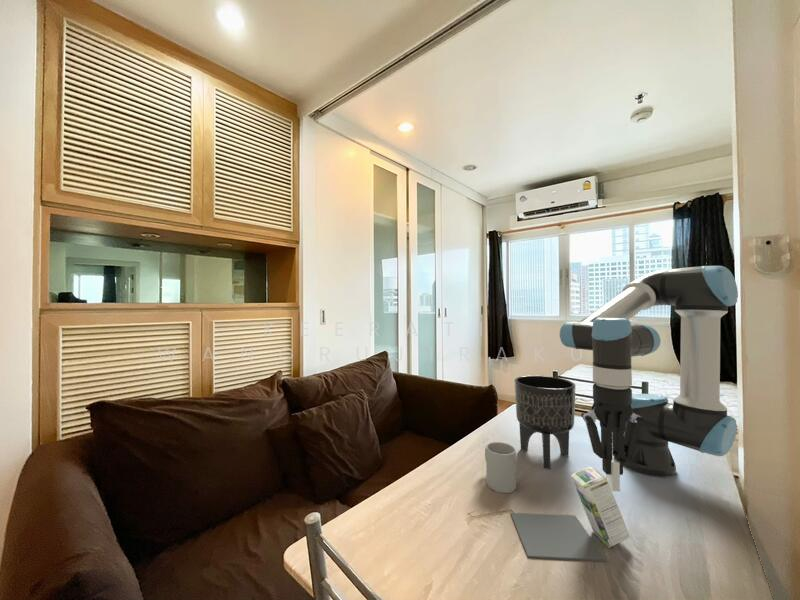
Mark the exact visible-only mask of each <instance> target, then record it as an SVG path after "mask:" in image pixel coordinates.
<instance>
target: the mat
mask: <svg viewBox="0 0 800 600" xmlns="http://www.w3.org/2000/svg"><path fill="white" fill-rule="evenodd" d="M510 516H511V519H512V521H513V524H514V526H515V528H516V531H517V534H518V536H519V539H520V541H521V543H522V546H523V548H524V550H525V553H526V556H527V558H529V559H531V558H532V559H548V560H549V559H551V560H566V561H567V560H570V561H583V562H584V561H586V562H587V561H588V562H604V563H605V562H607V558H606V557H605V556H604V554H603V553H602V552H601V550H600V549H599V547H598V546H597V544H596V543H595V541H594V540H593V539H592V537H591V536H590V534H589V533H588V531H587V530H586V529H585V527H584V525H583V524H582V523H581V522H580V520H579V519H578V517H577V516H576V515H574V514H550V513H549V514H547V513H545V514H544V513H525V512H524V513H523V512H510Z"/></svg>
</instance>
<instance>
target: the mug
mask: <svg viewBox="0 0 800 600" xmlns="http://www.w3.org/2000/svg"><path fill="white" fill-rule="evenodd" d="M516 453H517V452H516V449H515V447H514V446H513V445H510V444H509V443H505V442H501V441H496V442H489V443H487V445H486V446H485V450H484V457H485V462H486V464H485V465H486V466H485V467H486V474H485V477H486V480H485V481H486V485H487V487H488V488H489V489H490V490H493V492H497V493H500V494H510V493H513V492H514V491H515V490H516V489H517V463H516V462H517V454H516Z"/></svg>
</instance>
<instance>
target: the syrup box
mask: <svg viewBox="0 0 800 600" xmlns="http://www.w3.org/2000/svg"><path fill="white" fill-rule="evenodd" d="M570 477H571V480H572V482H573V485H574V487H575V489H576V492H577V495H578V496H579V500H580V502H581V505H582V507H583V510H584V513H585V515H586V517H587V520H588V523H589V525H590V527H591V529H592V531H593V532H594V534H595V535H596V536H597V538H599V539H600V541H602V543H603V544H605V546H606V547H607V548H609V549H610V548H611V547H614V546H616V545H618V544H620V543H621V542H624V541H626V540H628V539H630V538H631V535H630V533H629V530H628V528H627V527H628V526H627V525H626V523H625V520H624V518H623V515H622V513H621V510H620V507H619V506H618V503H617V500H616V498H615V495H614V493H613V491H612V490H611V488H610V485H609V483H608V481H607V478H606V476H604V475H603V474H602V473H600V472H599V471H598V470H597V469H595V468H594V467H593V466H588V467H585V468H582V469H579V470H577V471H576V472H574V473H573V474H571V475H570Z"/></svg>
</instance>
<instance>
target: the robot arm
mask: <svg viewBox="0 0 800 600" xmlns="http://www.w3.org/2000/svg"><path fill="white" fill-rule="evenodd" d="M737 285H738V284H737V282H736V279H735V277H734V274H733V273H732V272H731V271H730V269H729V268H728V267H725V266H723V265H700V266H691V267H690V266H689V267H680V268H679V267H678V268H667V269H666V268H664V269H660V270H656V271H652V272H650V273H647V274H645V275H642V276H640V277H637V278H636V279H634V280H632V281H631V282H630V283H627V284H626V285H624V287H623V289H622V291H621V293H619V294H618V295H616V296H615V297H613V298H612V299H610V300H609V301H607V302H606V303H605V304H603V305H602V306H600V307H599V308H598V309H596V310H594V311H593V312H591V313H590V314H589V315H587V316H586V317H584V318H582V319H581V320H579V321H566V322H564V323H563V324H561V327H560V329H559V339H560V341H561V344H562V345H563V346H564V347H567V348H570V349H571V348H572V349H575V350H586V351H592V382H593V383H594V384H592V399H593V403H592V406H591V410H590V411H588V412H587V413H585V412H582V413H581V418H582V419H583V421H584V423H585V426H586V428H587V433H588V436H589V440H590V444H591V447H592V451H593V453H594V455H596V456H598V457H599V458H600V459H602V460H601V461H602V463H601V464H602V468H601V469H602V471H603V473H605V478H607V481H608V483H609V485H610V488H611V490H612V492H620V491H621V482H620V481H621V480H620V479H621V476H622V475H624V467H626V468H627V469H629V470H632V471H634V472H637V473H640V474H642V475H643V474H644V475H647V476H650V477H657V478H669V477H670V478H671V477H673V476H675V475H676V474H677V468H676V463H675V459H674V457H673V455H672V453H671V450H670V448H669V443H673V444H675V445H679V446H682V447H685V448H688V449H691V450H695V451H697V452H700V453H702V454H707V455H712V456H716V457H723V456H725V455H726V454H728V453H729V452H730V450H731V448H732V447H733V446H734V443H735V440H736V437H737V430H738V425H737V420H736V418H735V417H733V416H731V415H728V408H727V406H725V405H724V404H723V403H722V402H721V400H720V397H721V395H720V394H721V392H720V391H721V389H720V385H721V384H720V383H721V381H720V379H721V375H720V374H721V319H722V318H723V316H725V315H726V314H728V312H729V307H732V306H735V305H736V304H737V302H738V297H739V292H738V286H737ZM654 306H655V307H656V306H674V312H676V314H678V315H679V316H680V359H679V361H680V362H679V363H680V364H679V365H680V366H679V367H680V370H679V372H680V374H679V375H680V377H679V381H680V382H679V395H678V396H676V397H675V398H673V399H672V400H673V401H672V402H673V403H671V402H669V399H668V397H667V396H664V395H662V394H654V393H633V389H632V388H631V386H633V377H632V376H633V375H632V373H633V371H632V358H633V357H639V356H640V357H644V356H647V355H650V354H653V353H655V352H656V351H657V350H659V347H660V346H661V336H660V334H659V333H658V331H657V330H656V329H655V328H653V327H652V326H649V325H646V324H642V323H641V324H638V323H636V324H632V322H631V321H630V319H632V318H634V316H636V315H637V314H638V313H639V312H641V311H645V310H648V309H650V308H653V307H654ZM596 419H597V420H598V421H599V426H600V435H599V430H598V427H597V424H596V422H597V421H596Z"/></svg>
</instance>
